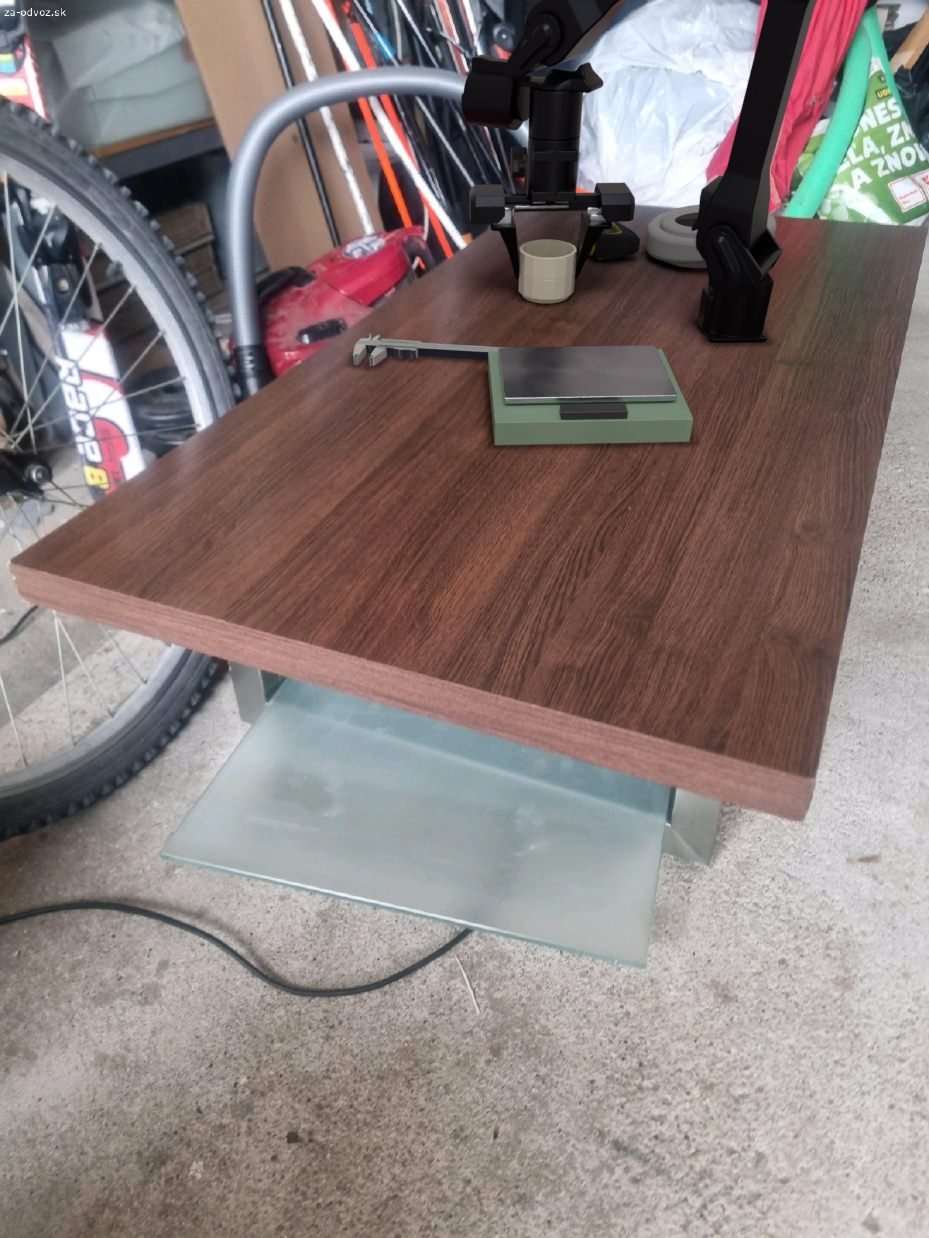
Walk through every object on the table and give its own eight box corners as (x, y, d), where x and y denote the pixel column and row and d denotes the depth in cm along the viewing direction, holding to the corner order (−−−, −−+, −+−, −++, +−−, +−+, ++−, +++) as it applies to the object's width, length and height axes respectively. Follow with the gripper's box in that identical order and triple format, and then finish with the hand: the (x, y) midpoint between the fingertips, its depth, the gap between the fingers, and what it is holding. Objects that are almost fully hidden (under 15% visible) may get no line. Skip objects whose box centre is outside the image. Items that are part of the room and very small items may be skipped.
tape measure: (640, 261, 115) (643, 232, 113) (593, 267, 114) (595, 237, 111) (617, 245, 120) (621, 216, 118) (572, 250, 119) (574, 222, 116)
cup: (569, 284, 109) (573, 238, 106) (576, 304, 104) (579, 258, 101) (516, 285, 109) (517, 239, 106) (519, 305, 104) (521, 259, 101)
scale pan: (654, 350, 88) (655, 345, 88) (676, 401, 80) (677, 395, 80) (498, 353, 88) (498, 347, 88) (504, 404, 80) (504, 398, 80)
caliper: (352, 357, 91) (356, 333, 96) (353, 367, 92) (357, 342, 97) (544, 354, 92) (539, 330, 96) (544, 364, 92) (538, 339, 97)
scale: (658, 370, 91) (663, 341, 89) (689, 442, 80) (695, 411, 77) (487, 373, 91) (488, 344, 89) (494, 446, 79) (495, 414, 77)
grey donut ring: (669, 241, 125) (628, 272, 115) (673, 192, 121) (630, 220, 111) (788, 252, 117) (754, 287, 108) (796, 200, 113) (762, 231, 104)
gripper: (626, 117, 101) (612, 254, 112) (467, 120, 101) (468, 256, 111) (643, 140, 93) (626, 286, 103) (470, 143, 93) (471, 288, 103)
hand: (546, 278), depth 106 cm, fingers closed on cup, 7 cm apart
